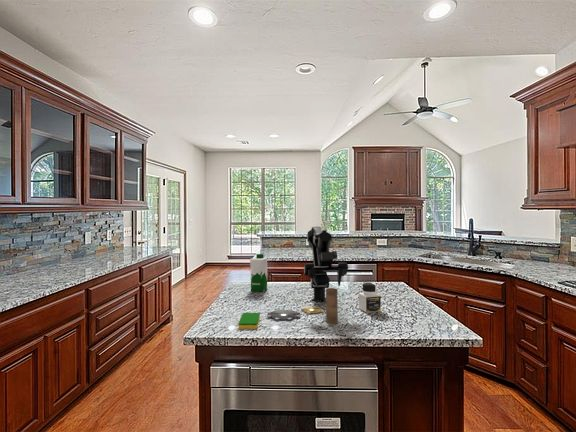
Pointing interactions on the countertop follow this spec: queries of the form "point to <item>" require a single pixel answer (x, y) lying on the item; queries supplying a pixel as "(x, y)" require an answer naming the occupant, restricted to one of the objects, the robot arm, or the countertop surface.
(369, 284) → the medicine bottle
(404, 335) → the countertop surface
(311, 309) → the brass gear disc
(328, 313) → the walnut axle
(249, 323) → the dish sponge
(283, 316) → the steel gear disc
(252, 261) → the milk carton
